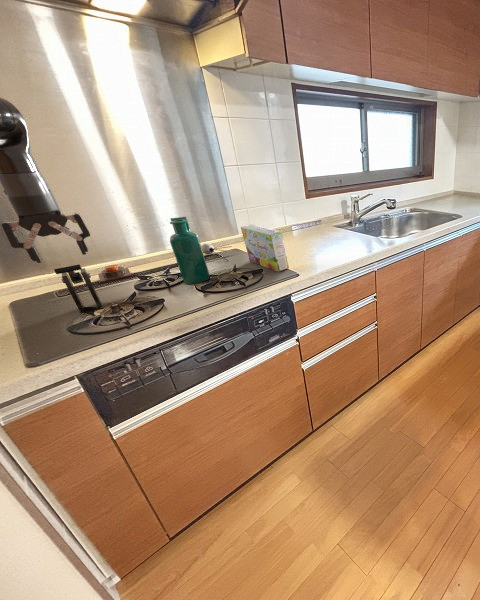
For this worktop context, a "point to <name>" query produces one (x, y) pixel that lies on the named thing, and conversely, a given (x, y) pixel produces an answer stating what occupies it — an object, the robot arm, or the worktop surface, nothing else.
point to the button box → (114, 275)
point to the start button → (111, 268)
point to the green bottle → (188, 252)
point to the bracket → (74, 293)
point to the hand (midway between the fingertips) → (62, 257)
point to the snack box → (265, 247)
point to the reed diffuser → (210, 249)
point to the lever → (71, 273)
